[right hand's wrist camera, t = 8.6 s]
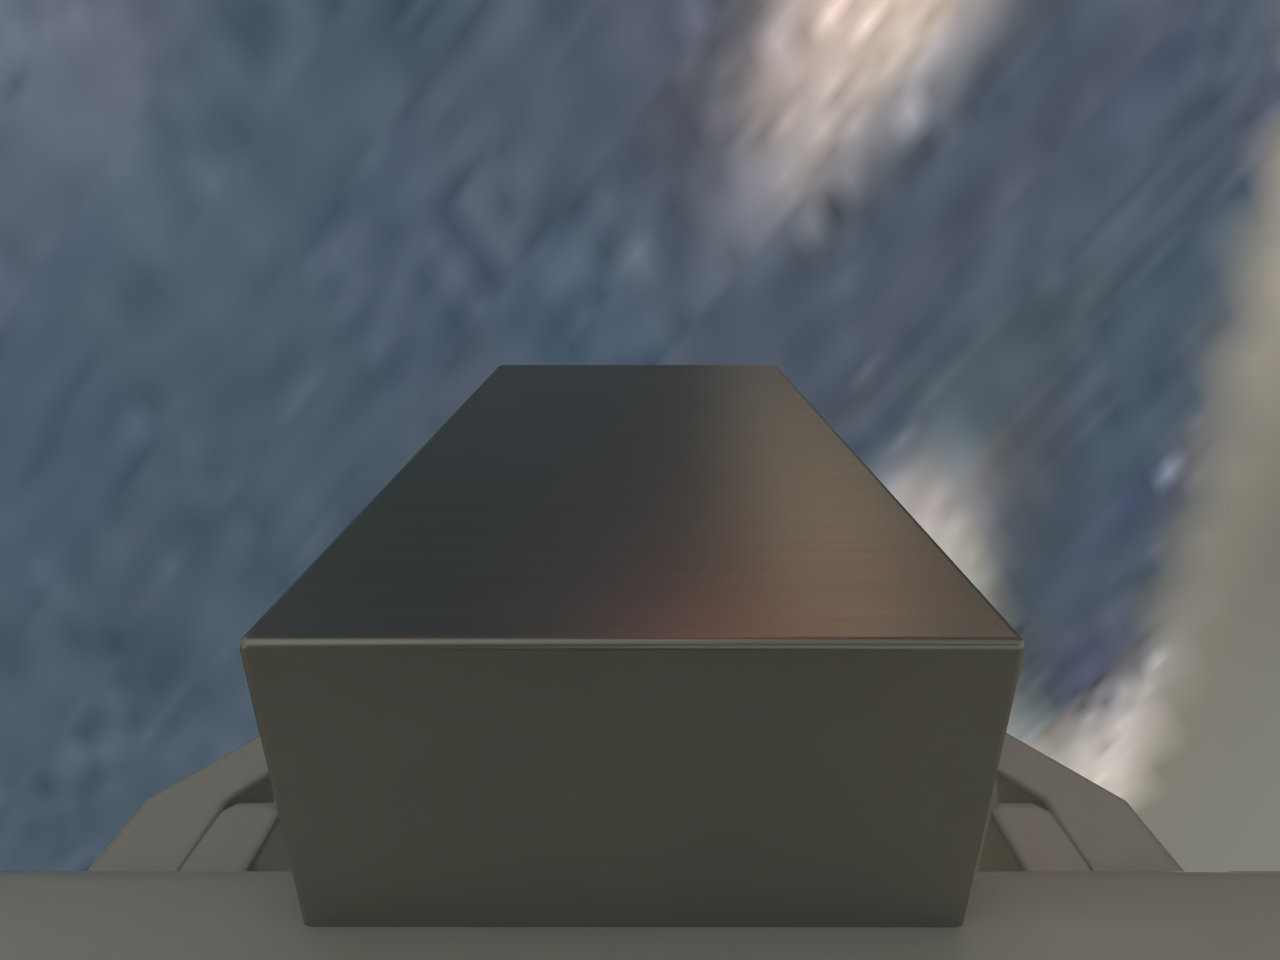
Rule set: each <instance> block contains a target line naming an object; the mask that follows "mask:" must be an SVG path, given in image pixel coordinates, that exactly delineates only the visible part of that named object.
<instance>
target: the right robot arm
mask: <svg viewBox="0 0 1280 960" xmlns="http://www.w3.org/2000/svg"><path fill="white" fill-rule="evenodd" d="M0 960H1280V871H1183V869H1182V868H1181V867H1180V866H1179V865H1178V863H1177V862H1176V861H1175V860H1174V859H1173V857H1172V856H1171V855H1170V854H1169V853H1168V851H1167V850H1166V849H1165V848H1164V847H1163V845H1162V844H1161V843H1160V842H1159V841H1158V839H1157V838H1156V837H1155V836H1154V835H1153V833H1152V832H1151V831H1150V830H1149V828H1148V827H1147V826H1146V825H1145V824H1144V822H1143V821H1142V820H1141V819H1140V818H1139V816H1138V815H1137V814H1136V813H1135V812H1134V810H1133V809H1132V808H1131V807H1130V806H1129V804H1128V803H1127V802H1126V801H1125V800H1123V799H1121V798H1119V797H1118V796H1116V795H1114V794H1112V793H1111V792H1109V791H1107V790H1105V789H1104V788H1102V787H1100V786H1098V785H1097V784H1095V783H1093V782H1091V781H1090V780H1088V779H1086V778H1084V777H1083V776H1081V775H1079V774H1077V773H1076V772H1074V771H1072V770H1070V769H1069V768H1067V767H1065V766H1063V765H1062V764H1060V763H1058V762H1056V761H1055V760H1053V759H1051V758H1049V757H1048V756H1046V755H1044V754H1042V753H1041V752H1039V751H1037V750H1035V749H1034V748H1032V747H1030V746H1028V745H1027V744H1025V743H1023V742H1021V741H1020V740H1018V739H1016V738H1014V737H1013V736H1011V735H1009V734H1007V733H1006V734H1005V738H1004V743H1003V747H1002V752H1001V756H1000V761H999V765H998V769H997V774H996V778H995V783H994V787H993V792H992V796H991V800H990V805H989V809H988V814H987V818H986V823H985V827H984V831H983V836H982V840H981V845H980V849H979V854H978V858H977V863H976V867H975V871H974V876H973V880H972V885H971V889H970V894H969V898H968V902H967V907H966V911H965V916H964V920H963V925H962V926H959V927H309V926H306V925H304V921H303V917H302V912H301V908H300V904H299V900H298V895H297V891H296V887H295V883H294V878H293V874H292V870H291V865H290V861H289V857H288V853H287V848H286V844H285V840H284V836H283V831H282V827H281V823H280V819H279V814H278V810H277V806H276V801H275V797H274V793H273V789H272V784H271V780H270V776H269V772H268V767H267V763H266V759H265V754H264V750H263V746H262V742H261V737H258V738H256V739H254V740H253V741H251V742H249V743H247V744H245V745H244V746H242V747H240V748H238V749H237V750H235V751H233V752H231V753H230V754H228V755H226V756H224V757H222V758H221V759H219V760H217V761H215V762H214V763H212V764H210V765H208V766H206V767H205V768H203V769H201V770H199V771H198V772H196V773H194V774H192V775H191V776H189V777H187V778H185V779H183V780H182V781H180V782H178V783H176V784H175V785H173V786H171V787H169V788H167V789H166V790H164V791H162V792H160V793H159V794H157V795H155V796H153V797H152V798H150V799H148V800H147V801H146V802H145V803H144V804H143V805H142V807H141V808H140V809H139V810H138V811H137V812H136V814H135V815H134V816H133V817H132V818H131V820H130V821H129V822H128V823H127V824H126V825H125V827H124V828H123V829H122V830H121V831H120V832H119V834H118V835H117V836H116V837H115V838H114V839H113V841H112V842H111V843H110V844H109V845H108V847H107V848H106V849H105V850H104V851H103V852H102V854H101V855H100V856H99V857H98V858H97V859H96V861H95V862H94V863H93V864H92V865H91V867H90V868H89V869H88V870H87V871H0Z"/></svg>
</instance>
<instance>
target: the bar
mask: <svg viewBox="0 0 1280 960" xmlns="http://www.w3.org/2000/svg"><path fill="white" fill-rule="evenodd" d="M1024 650H1025V649H1024V643H1023V640H1022V638H1021V637H1020V636H1019V635H1018V634H1017V632H1016V631H1015V630H1014V629H1013V628H1012V627H1011V626H1010V625H1009V624H1008V622H1007V621H1006V620H1005V619H1004V618H1003V617H1002V616H1001V615H1000V614H999V612H998V611H997V610H996V609H995V608H994V607H993V606H992V605H991V604H990V602H989V601H988V600H987V599H986V598H985V597H984V596H983V595H982V594H981V593H980V591H979V590H978V589H977V588H976V587H975V586H974V585H973V584H972V583H971V581H970V580H969V579H968V578H967V577H966V576H965V575H964V574H963V573H962V571H961V570H960V569H959V568H958V567H957V566H956V565H955V564H954V563H953V561H952V560H951V559H950V558H949V557H948V556H947V555H946V554H945V553H944V552H943V550H942V549H941V548H940V547H939V546H938V545H937V544H936V543H935V542H934V540H933V539H932V538H931V537H930V536H929V535H928V534H927V533H926V532H925V530H924V529H923V528H922V527H921V526H920V525H919V524H918V523H917V522H916V521H915V519H914V518H913V517H912V516H911V515H910V514H909V513H908V512H907V511H906V509H905V508H904V507H903V506H902V505H901V504H900V503H899V502H898V501H897V499H896V498H895V497H894V496H893V495H892V494H891V493H890V492H889V491H888V489H887V488H886V487H885V486H884V485H883V484H882V483H881V482H880V481H879V480H878V478H877V477H876V476H875V475H874V474H873V473H872V472H871V471H870V470H869V468H868V467H867V466H866V465H865V464H864V463H863V462H862V461H861V460H860V458H859V457H858V456H857V455H856V454H855V453H854V452H853V451H852V450H851V448H850V447H849V446H848V445H847V444H846V443H845V442H844V441H843V440H842V439H841V437H840V436H839V435H838V434H837V433H836V432H835V431H834V430H833V429H832V427H831V426H830V425H829V424H828V423H827V422H826V421H825V420H824V419H823V417H822V416H821V415H820V414H819V413H818V412H817V411H816V410H815V409H814V408H813V406H812V405H811V404H810V403H809V402H808V401H807V400H806V399H805V398H804V396H803V395H802V394H801V393H800V392H799V391H798V390H797V389H796V388H795V386H794V385H793V384H792V383H791V382H790V381H789V380H788V379H787V378H786V376H785V375H784V374H783V373H782V372H781V371H780V370H779V369H778V368H777V367H776V366H774V365H501V366H499V367H498V368H497V369H496V370H495V371H494V372H493V373H492V374H491V375H490V377H489V378H488V379H487V380H486V381H485V382H484V383H483V384H482V385H481V386H480V387H479V388H478V389H477V390H476V391H475V392H474V393H473V394H472V396H471V397H470V398H469V399H468V400H467V401H466V402H465V403H464V404H463V405H462V406H461V407H460V408H459V409H458V410H457V411H456V412H455V414H454V415H453V416H452V417H451V418H450V419H449V420H448V421H447V422H446V423H445V424H444V425H443V426H442V427H441V428H440V429H439V430H438V432H437V433H436V434H435V435H434V436H433V437H432V438H431V439H430V440H429V441H428V442H427V443H426V444H425V445H424V446H423V447H422V448H421V449H420V451H419V452H418V453H417V454H416V455H415V456H414V457H413V458H412V459H411V460H410V461H409V462H408V463H407V464H406V465H405V466H404V467H403V469H402V470H401V471H400V472H399V473H398V474H397V475H396V476H395V477H394V478H393V479H392V480H391V481H390V482H389V483H388V484H387V485H386V487H385V488H384V489H383V490H382V491H381V492H380V493H379V494H378V495H377V496H376V497H375V498H374V499H373V500H372V501H371V502H370V503H369V504H368V506H367V507H366V508H365V509H364V510H363V511H362V512H361V513H360V514H359V515H358V516H357V517H356V518H355V519H354V520H353V521H352V522H351V524H350V525H349V526H348V527H347V528H346V529H345V530H344V531H343V532H342V533H341V534H340V535H339V536H338V537H337V538H336V539H335V540H334V542H333V543H332V544H331V545H330V546H329V547H328V548H327V549H326V550H325V551H324V552H323V553H322V554H321V555H320V556H319V557H318V558H317V559H316V561H315V562H314V563H313V564H312V565H311V566H310V567H309V568H308V569H307V570H306V571H305V572H304V573H303V574H302V575H301V576H300V577H299V579H298V580H297V581H296V582H295V583H294V584H293V585H292V586H291V587H290V588H289V589H288V590H287V591H286V592H285V593H284V594H283V595H282V597H281V598H280V599H279V600H278V601H277V602H276V603H275V604H274V605H273V606H272V607H271V608H270V609H269V610H268V611H267V612H266V613H265V614H264V616H263V617H262V618H261V619H260V620H259V621H258V622H257V623H256V624H255V625H254V626H253V627H252V628H251V629H250V630H249V631H248V632H247V634H246V635H245V636H244V637H243V638H242V640H241V644H240V652H241V656H242V661H243V665H244V669H245V673H246V678H247V682H248V686H249V690H250V695H251V699H252V703H253V708H254V712H255V716H256V720H257V725H258V729H259V733H260V737H261V742H262V746H263V750H264V754H265V759H266V763H267V767H268V772H269V776H270V780H271V784H272V789H273V793H274V797H275V801H276V806H277V810H278V814H279V819H280V823H281V827H282V831H283V836H284V840H285V844H286V848H287V853H288V857H289V861H290V865H291V870H292V874H293V878H294V883H295V887H296V891H297V895H298V900H299V904H300V908H301V912H302V917H303V921H304V925H306V926H309V927H959V926H962V925H963V920H964V916H965V911H966V907H967V902H968V898H969V894H970V889H971V885H972V880H973V876H974V871H975V867H976V863H977V858H978V854H979V849H980V845H981V840H982V836H983V831H984V827H985V823H986V818H987V814H988V809H989V805H990V800H991V796H992V792H993V787H994V783H995V778H996V774H997V769H998V765H999V761H1000V756H1001V752H1002V747H1003V743H1004V738H1005V734H1006V729H1007V725H1008V721H1009V716H1010V712H1011V707H1012V703H1013V698H1014V694H1015V690H1016V685H1017V681H1018V676H1019V672H1020V667H1021V663H1022V658H1023V654H1024Z"/></svg>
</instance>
